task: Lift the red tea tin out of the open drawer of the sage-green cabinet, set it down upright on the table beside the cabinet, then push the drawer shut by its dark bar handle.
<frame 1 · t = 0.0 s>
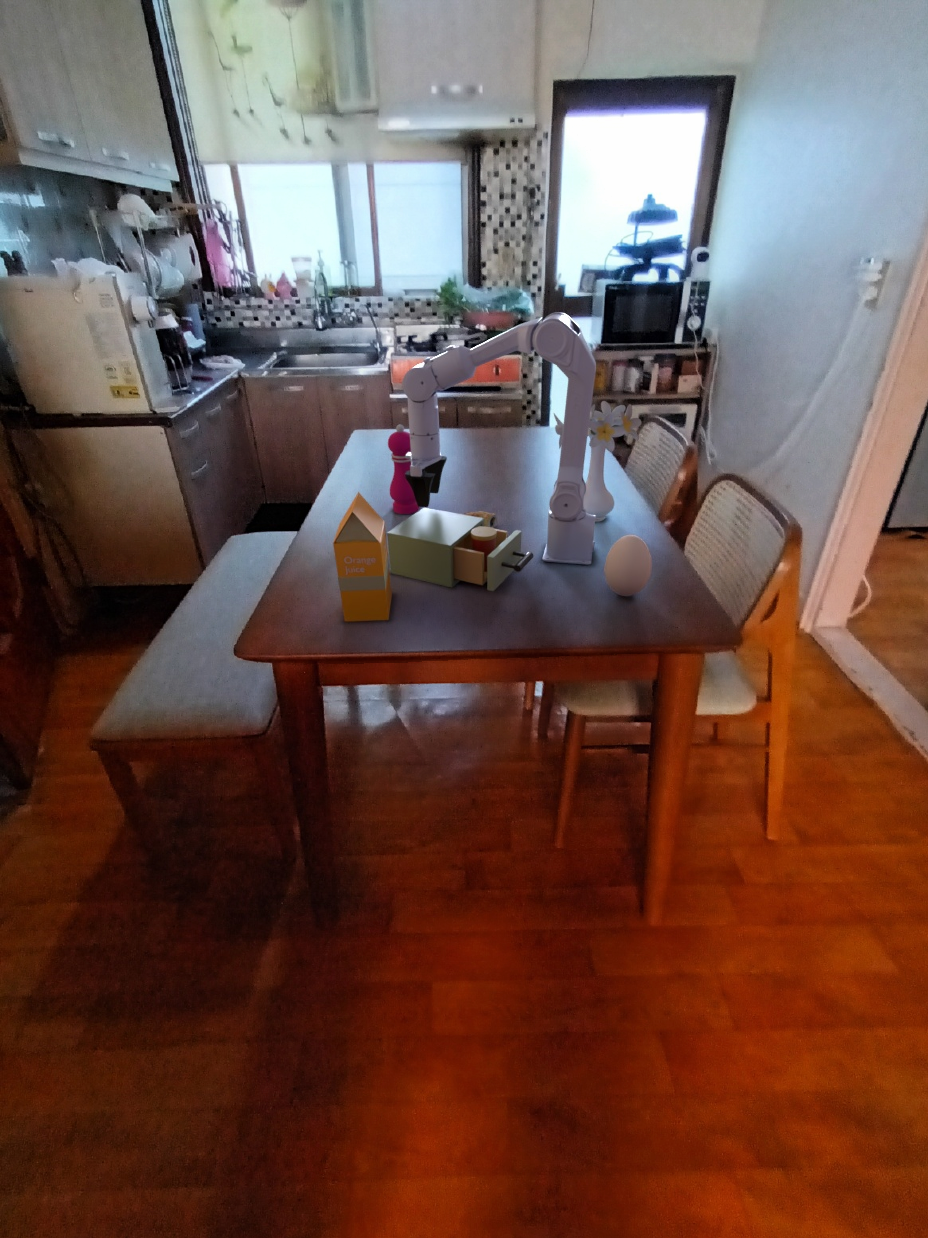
hand: (428, 499, 126), 10 cm above the table, tool pointing down, fingers open, 7 cm apart
cabinet: (438, 565, 123), on the table
orange juice: (368, 608, 110), on the table
egg: (624, 594, 112), on the table
flower vase: (589, 518, 141), on the table
pastry: (477, 529, 138), on the table
tea tin: (484, 566, 118), point 2 cm above the table, touching drawer
drawer: (486, 556, 116), point 4 cm above the table, slide at 7.0 cm, touching tea tin
pepper mill: (406, 510, 148), on the table
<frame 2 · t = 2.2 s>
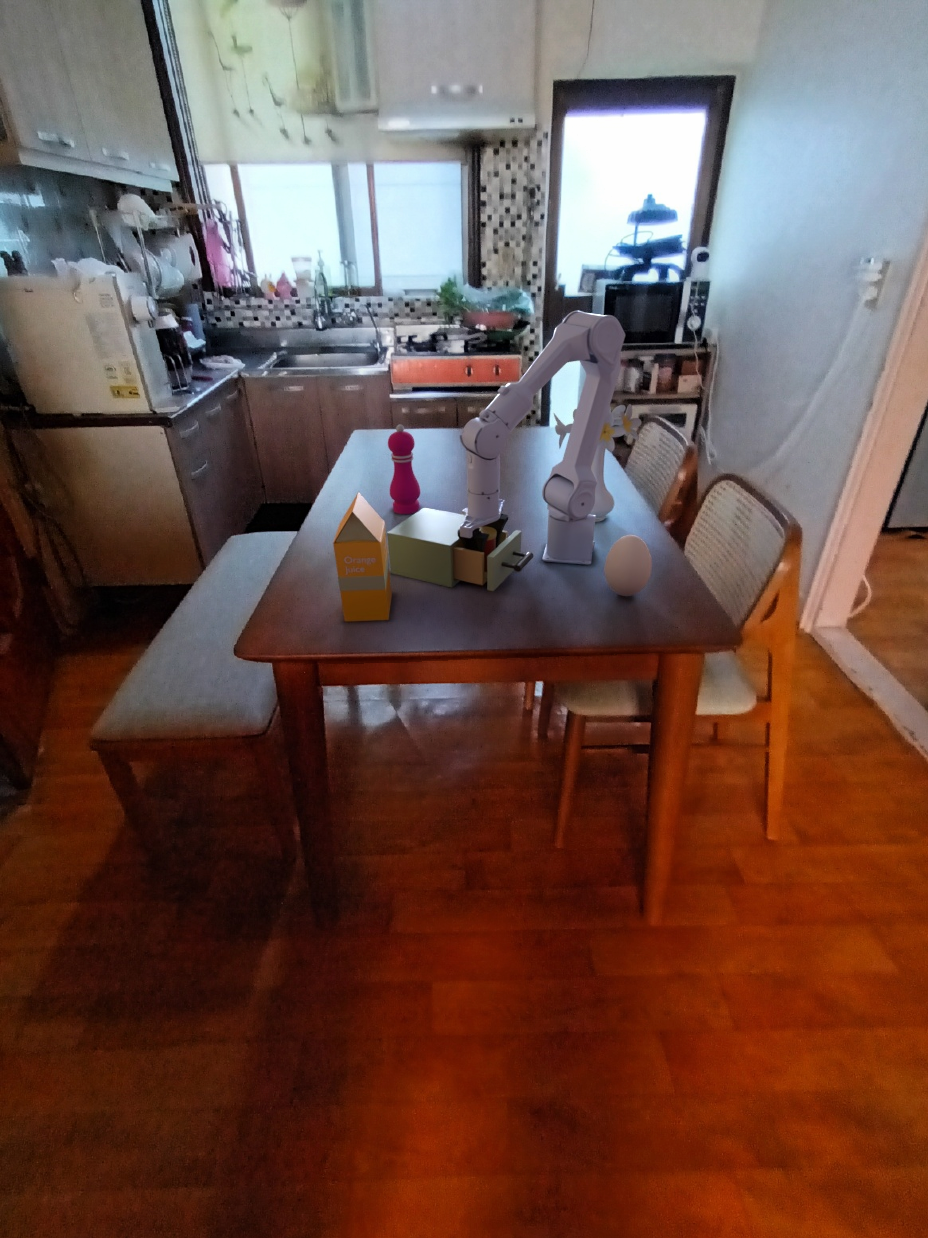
hand: (483, 558, 117), 4 cm above the table, tool pointing down, fingers closed on drawer, 6 cm apart
drawer: (486, 556, 116), point 4 cm above the table, slide at 7.0 cm, touching gripper, tea tin
everything else where it was.
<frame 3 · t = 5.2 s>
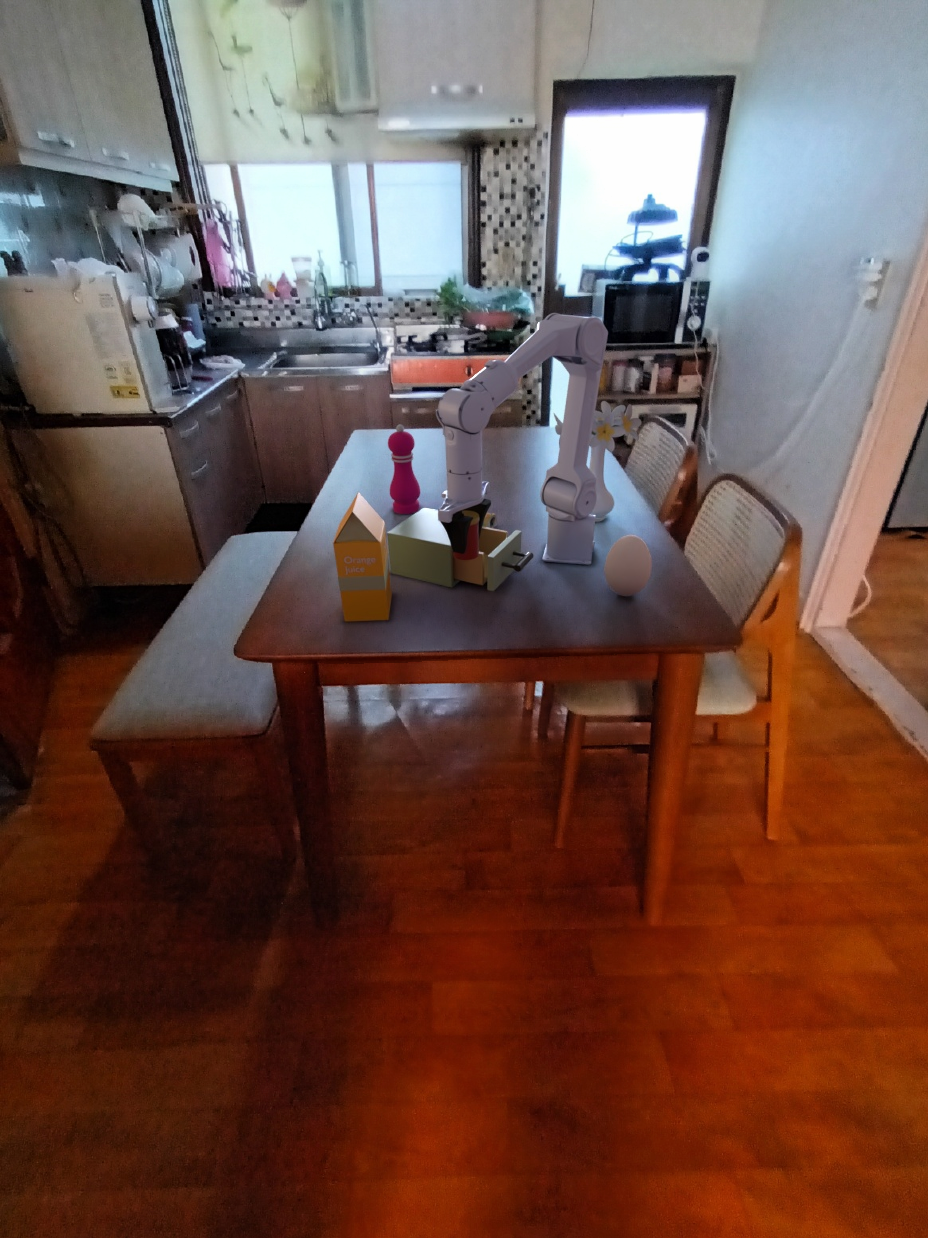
hand: (466, 546, 106), 10 cm above the table, tool pointing down, fingers closed on tea tin, 4 cm apart
tea tin: (466, 554, 107), point 9 cm above the table, touching gripper
drawer: (486, 556, 116), point 4 cm above the table, slide at 7.0 cm
everything else where it was.
when the fingers open (2 cm above the table, at t = 7.9 s): tea tin stays where it is, on the table.
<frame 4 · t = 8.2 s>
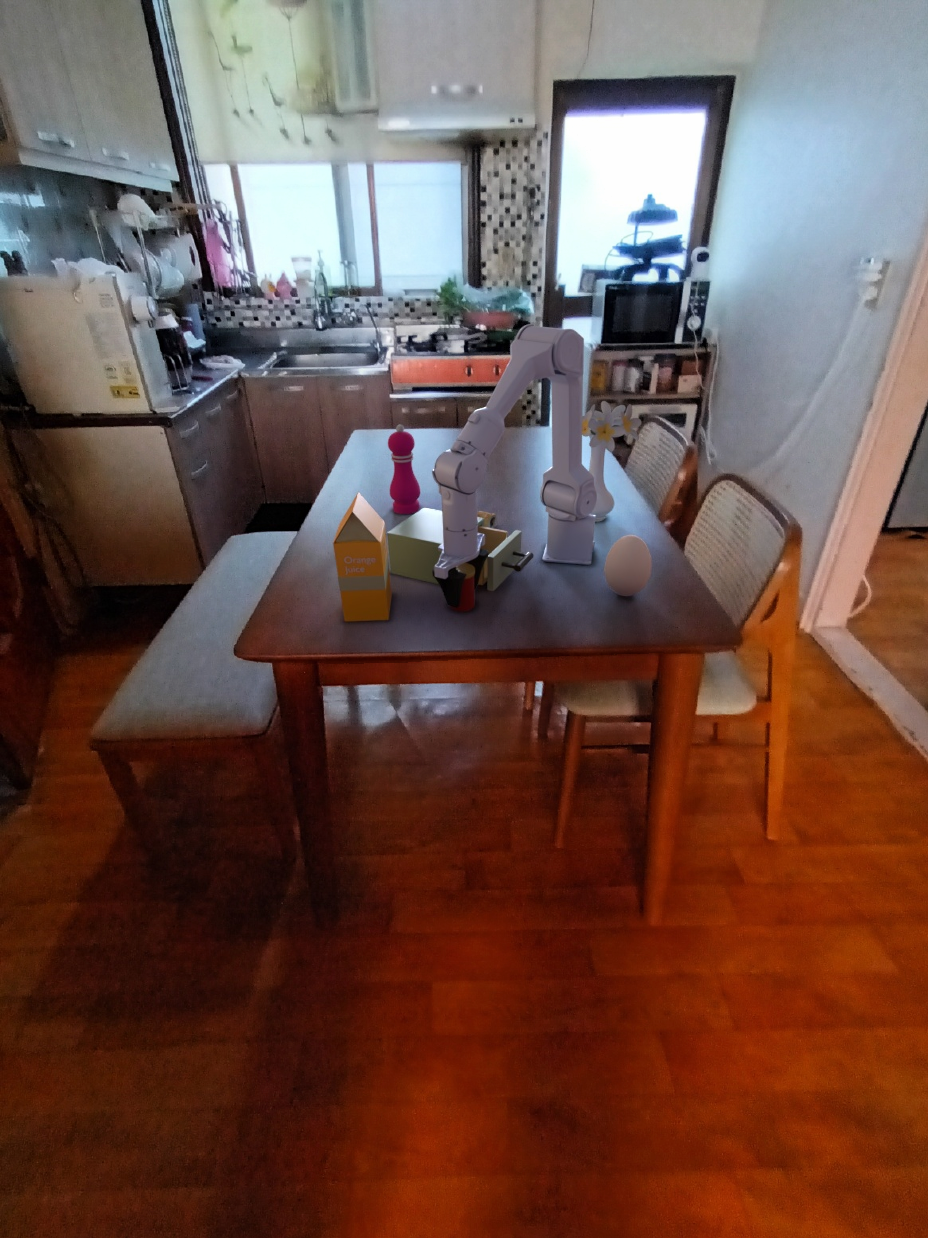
hand: (462, 596, 109), 2 cm above the table, tool pointing down, fingers open, 6 cm apart
tea tin: (462, 605, 110), on the table
drawer: (486, 556, 116), point 4 cm above the table, slide at 7.0 cm, touching gripper
everything else where it was.
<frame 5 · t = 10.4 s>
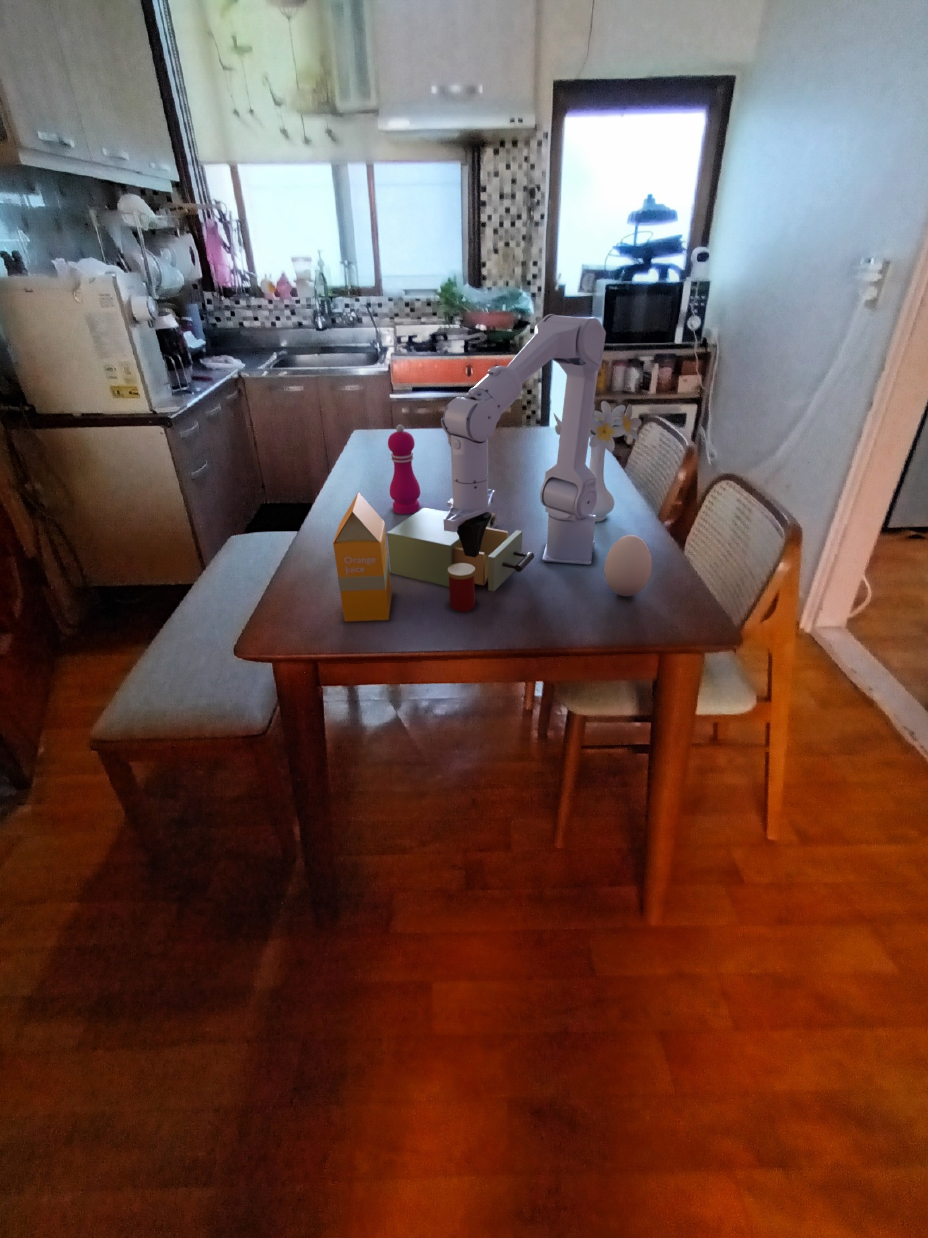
hand: (471, 554, 105), 9 cm above the table, tool pointing down, fingers closed
drawer: (487, 556, 116), point 4 cm above the table, slide at 7.2 cm
everything else where it was.
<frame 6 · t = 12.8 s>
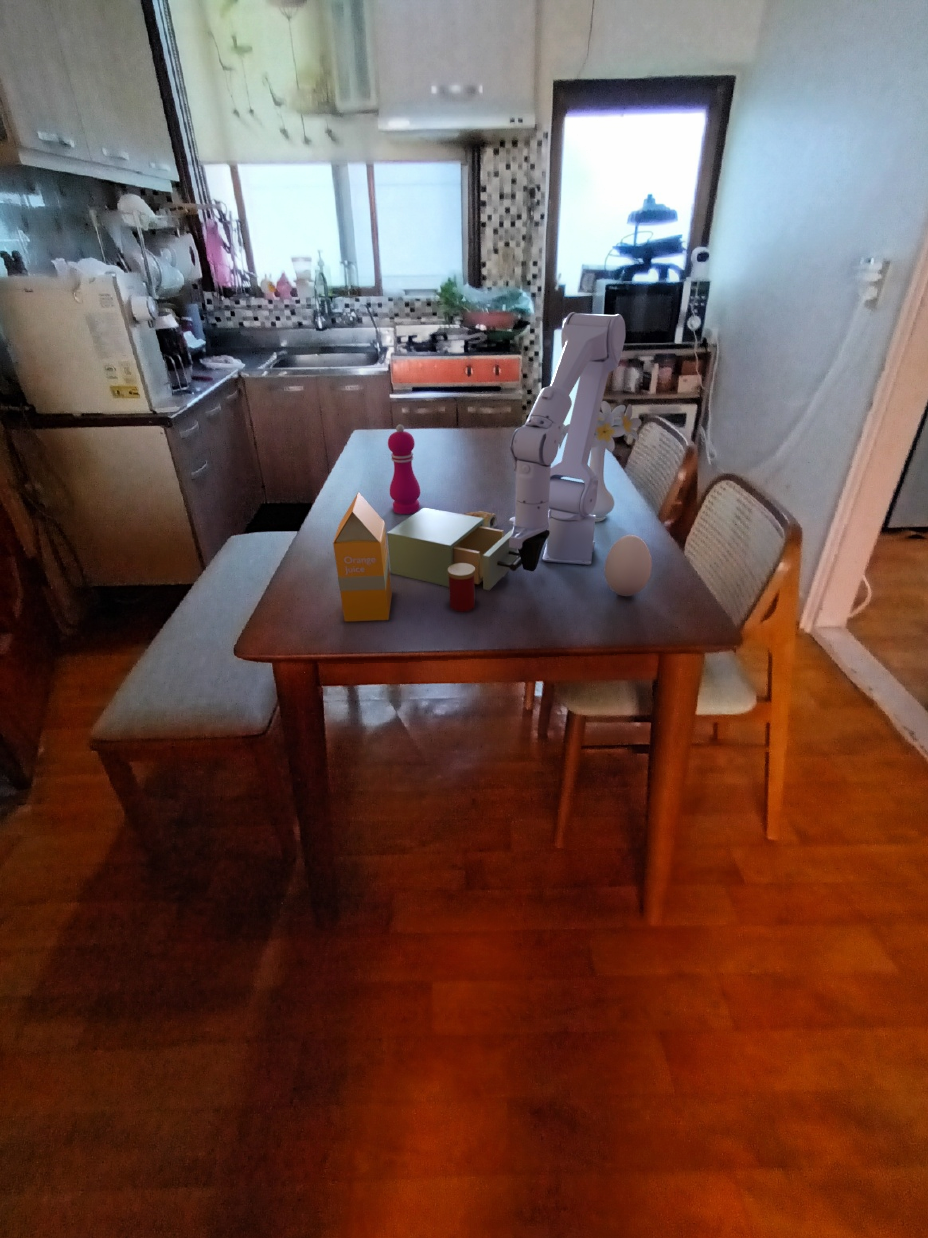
hand: (529, 568, 113), 4 cm above the table, tool pointing down, fingers closed, pressing on drawer
drawer: (482, 555, 117), point 4 cm above the table, slide at 6.2 cm, touching gripper
everything else where it was.
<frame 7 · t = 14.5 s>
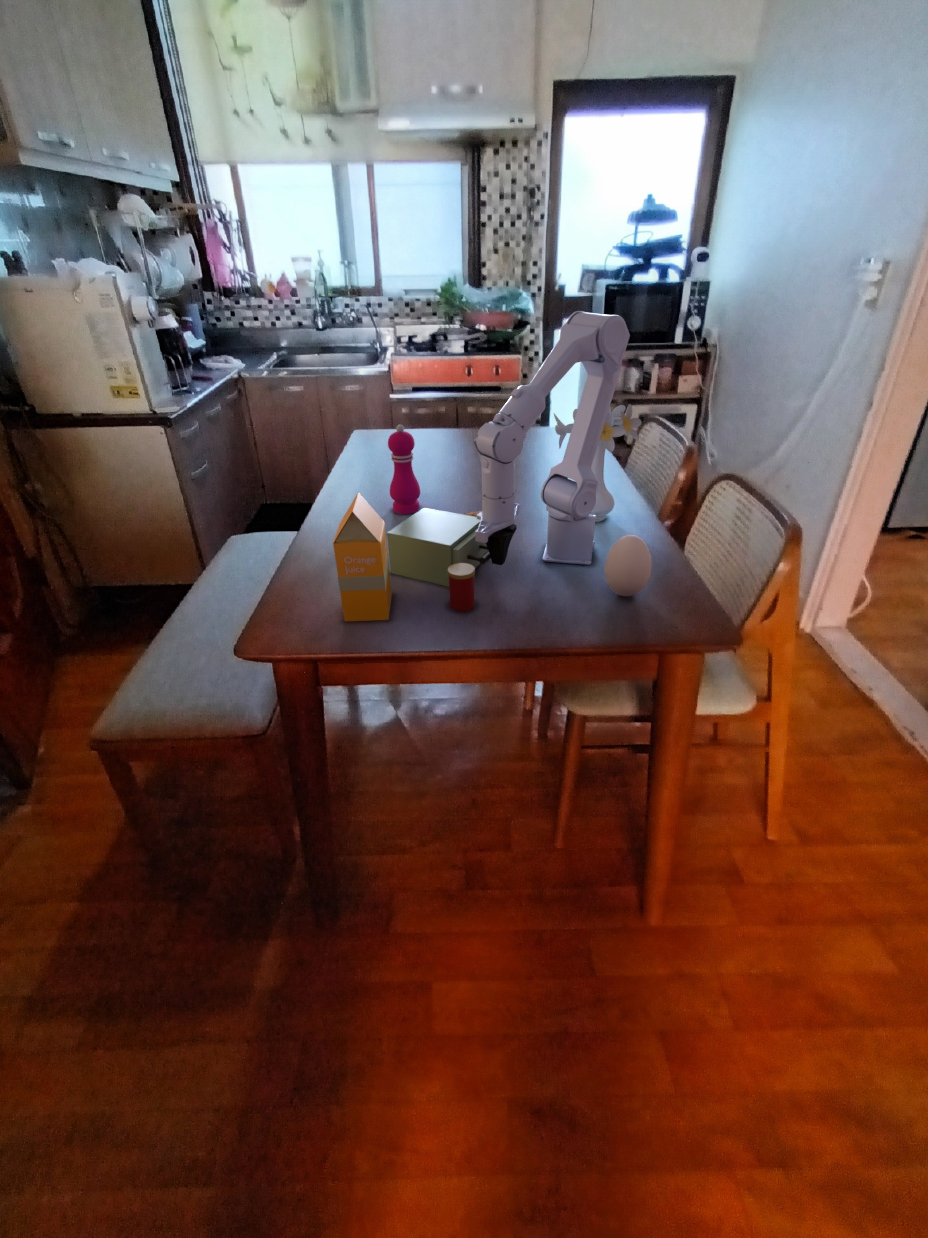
hand: (498, 562, 116), 3 cm above the table, tool pointing down, fingers closed, pressing on drawer
drawer: (454, 549, 119), point 4 cm above the table, slide at 0.0 cm, touching cabinet, gripper
everything else where it was.
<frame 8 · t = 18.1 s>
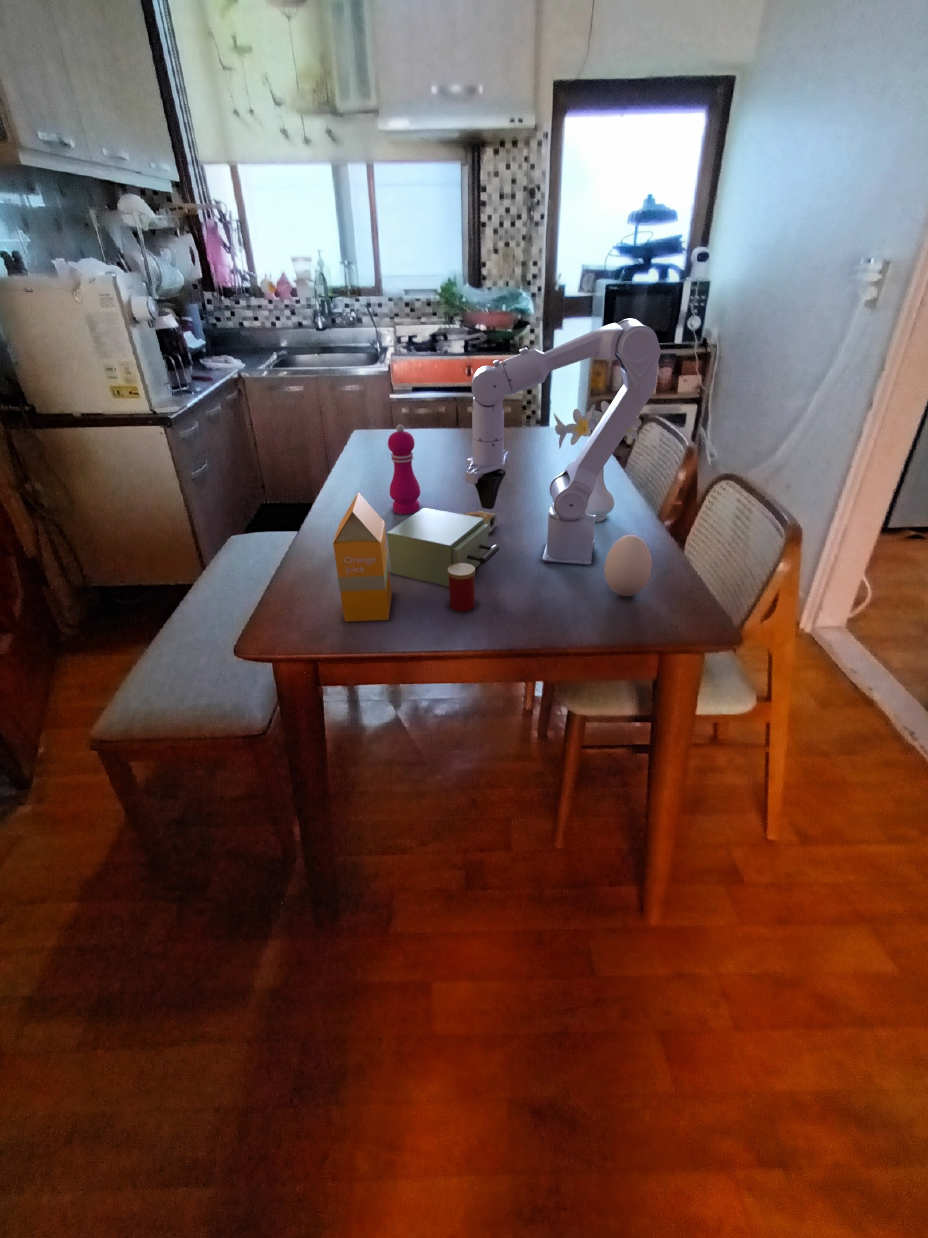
hand: (487, 507, 120), 10 cm above the table, tool pointing down, fingers closed
drawer: (454, 549, 119), point 4 cm above the table, slide at 0.0 cm, touching cabinet
everything else where it was.
at the end: tea tin 0.0 cm from the target spot, on the table; tea tin tilted 0°; drawer slide at 0.0 cm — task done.
